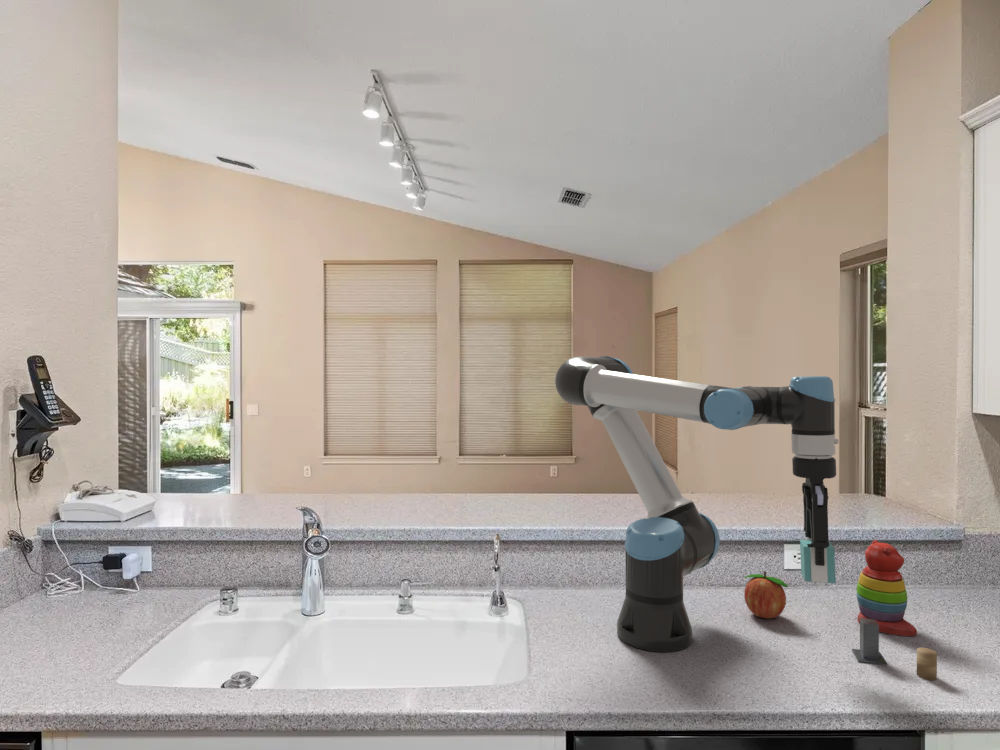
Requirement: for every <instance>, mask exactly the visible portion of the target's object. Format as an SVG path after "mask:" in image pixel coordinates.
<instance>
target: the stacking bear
mask: <svg viewBox="0 0 1000 750" xmlns="http://www.w3.org/2000/svg"><path fill="white" fill-rule="evenodd" d="M898 551H899V550H897V549H896V547H894V545H891V544H889V543H886V542H879V541H878V540H877V539H874V540H872V541H871V544H870V545H868V546H867V548H866V549H865V551H864V552H865V553H864V555H865V556H864V557H865V562H866V564H867V566H865V567H864V568H863V569H862V571H861V572H860V574H859V578H858V581H857V586H856V599H857V603H858V608H859V613H858V615H857V619H856V620H857V622H858V623H859V624H860V618H864V619H874V620H876V622H877V623H878V624H879V633H882V634H883V633H884V634H889V635H894V636H895V635H896V636H902V637H903V636H904V637H915V636H917V635H918V630H917V628H916V627H915V626H914V625H913V624H911V623H910V622H909V621H907V620H905V619H904V617H905V613H906V610H907V605H908V592H907V589H906V584H905V580H904V578H903V575H902V573H901V572H899V571H900V569H901V568H902V567H903V566H904V563H905V558H904V557H903V556H902V555H901V554H900V553H899V552H898Z"/></svg>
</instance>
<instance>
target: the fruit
mask: <svg viewBox="0 0 1000 750" xmlns="http://www.w3.org/2000/svg"><path fill="white" fill-rule="evenodd" d="M743 578H744V579H745V578H751V579H749V581H748V582H747V583H746V585H745V588H744V601H745V604H746V606H747V608H748V610H749V611H750V612H751V613H752V614H753V615H755V616H756V617H758V618H761V619H762V618H763V619H775V618H777V617H778V616H780V615H782V613H783V612H784V609H785V608H786V604H787V603H786V602H787V596H786V591H785V589H784V588H789V585H788V584H787V583H785V581H783V580H782V579H779V578H777V577H774V576H767V571H766V570H765V571H763V574H761V573H754V574H753V573H752V574H749V575H746V576H744V577H743Z"/></svg>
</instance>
